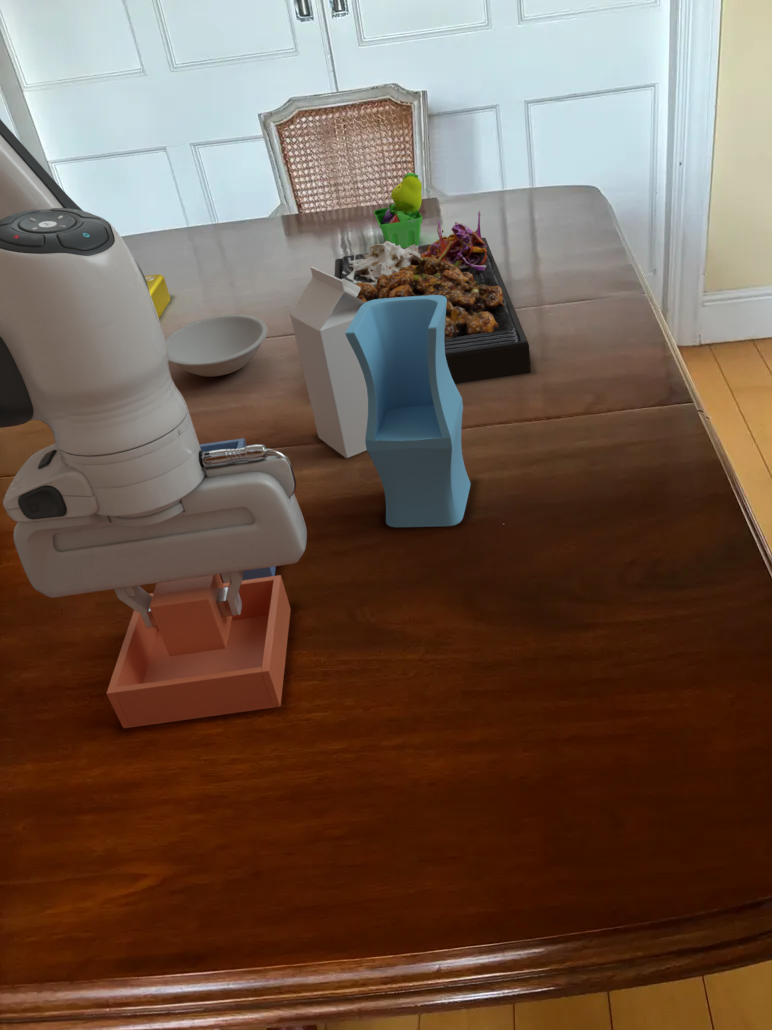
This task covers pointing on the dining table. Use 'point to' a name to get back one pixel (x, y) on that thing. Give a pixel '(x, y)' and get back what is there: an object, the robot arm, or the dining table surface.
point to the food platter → (450, 298)
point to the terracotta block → (190, 615)
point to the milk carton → (332, 361)
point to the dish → (216, 344)
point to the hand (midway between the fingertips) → (195, 617)
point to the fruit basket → (402, 213)
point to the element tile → (158, 292)
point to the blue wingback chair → (412, 409)
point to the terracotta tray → (206, 665)
